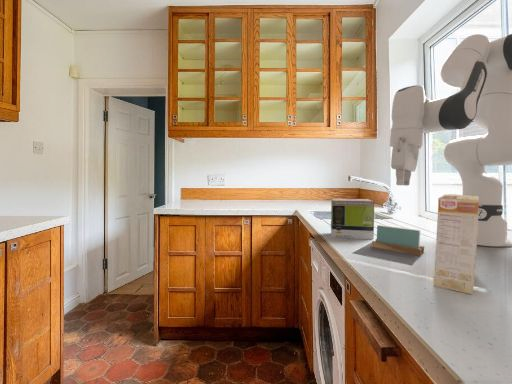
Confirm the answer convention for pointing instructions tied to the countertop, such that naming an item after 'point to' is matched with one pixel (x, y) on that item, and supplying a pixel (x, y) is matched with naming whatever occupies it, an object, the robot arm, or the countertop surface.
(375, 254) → the mat
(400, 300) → the countertop surface
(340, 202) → the tea box
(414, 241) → the tile
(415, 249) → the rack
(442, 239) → the coffeecake box
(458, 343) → the countertop surface
